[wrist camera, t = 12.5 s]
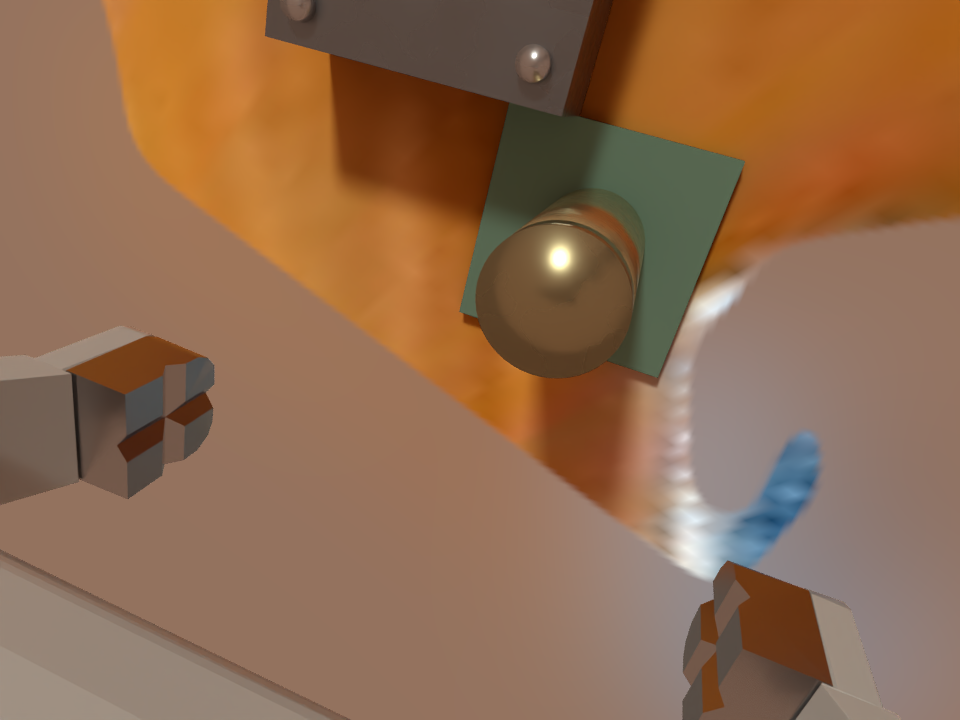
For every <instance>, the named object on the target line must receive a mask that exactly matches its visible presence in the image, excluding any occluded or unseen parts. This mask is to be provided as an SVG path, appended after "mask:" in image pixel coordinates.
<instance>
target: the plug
mask: <svg viewBox="0 0 960 720" xmlns="http://www.w3.org/2000/svg"><path fill="white" fill-rule="evenodd" d="M644 250H645V232H644V228H643V224H642V222H641V219H640V217H639V215H638V214H637V212H636V211H635V209H634V208H633V207H632V206H631V205H630V204H629V203H628V202H627V201H626V200H625V199H623V198H622V197H621V196H619V195H617V194H615V193H613V192H610V191H608V190H604V189H598V188H585V189H580V190H576V191H573V192H570V193H568V194H566V195H564V196H563V197H561V198H560V199H558V200H557V201H556V202H554V203H553V204H552V205H550V206H549V207H548V208H546V209H545V210H544V211H542V212H541V213H540V214H538V215H537V216H536V217H534V218H533V219H532V220H531V221H529V222H528V223H527V224H525V225H524V226H523V227H521V228H520V229H519V230H517V231H516V232H515V233H513V234H512V235H511V236H509V237H508V238H507V239H506V240H504V241H503V242H502V243H501V244H500V245H498V246H497V247H496V248H495V250H494V251H493V252H492V253H491V254H490V255H489V257H488V259H487V260H486V262H485V263H484V265H483V267H482V269H481V272H480V275H479V278H478V281H477V286H476V295H475V303H476V312H477V316H478V321H479V323H480V326H481V329H482V331H483V333H484V335H485V337H486V339H487V340H488V342H489V343H490V345H491V346H492V347H493V348H494V349H495V351H496V352H497V353H498V354H499V355H500V356H501V357H502V358H503V359H505V360H506V361H507V362H509V363H510V364H511V365H513V366H515V367H516V368H518V369H520V370H522V371H524V372H527V373H529V374H532V375H536V376H540V377H546V378H568V377H573V376H578V375H581V374H584V373H587V372H589V371H591V370H593V369H595V368H597V367H598V366H600V365H601V364H603V363H604V362H605V361H607V360H608V359H609V358H610V357H611V356H612V355H613V354H614V353H615V351H616V350H617V349H618V348H619V346H620V345H621V343H622V342H623V340H624V338H625V336H626V334H627V331H628V329H629V325H630V322H631V318H632V313H633V307H634V302H635V297H636V292H637V287H638V282H639V276H640V271H641V266H642V261H643V256H644Z"/></svg>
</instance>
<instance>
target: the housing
mask: <svg viewBox="0 0 960 720" xmlns="http://www.w3.org/2000/svg"><path fill="white" fill-rule="evenodd" d="M612 2H613V0H268V6H267V18H266V31H265V36H267V37H270V38H274V39H278V40H281V41H285V42H289V43H292V44H296V45H300V46H303V47H307V48H311V49H315V50H318V51H322V52H326V53H329V54H333V55H337V56H340V57H344V58H348V59H351V60H355V61H359V62H362V63H366V64H370V65H373V66H377V67H381V68H384V69H388V70H392V71H395V72H399V73H403V74H407V75H410V76H414V77H418V78H421V79H425V80H429V81H432V82H436V83H440V84H443V85H447V86H451V87H454V88H458V89H462V90H465V91H469V92H473V93H476V94H480V95H484V96H487V97H491V98H495V99H499V100H502V101H506V102H510V103H513V104H517V105H521V106H524V107H528V108H532V109H535V110H539V111H543V112H546V113H550V114H554V115H557V116H561V117H574V116H580V114H581V110H582V107H583V103H584V100H585V96H586V93H587V89H588V86H589V82H590V79H591V75H592V72H593V68H594V65H595V61H596V58H597V54H598V51H599V47H600V44H601V40H602V37H603V34H604V30H605V27H606V23H607V20H608V16H609V13H610V9H611V6H612Z"/></svg>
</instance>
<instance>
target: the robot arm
mask: <svg viewBox="0 0 960 720" xmlns="http://www.w3.org/2000/svg"><path fill="white" fill-rule="evenodd" d="M213 385H214V365H213V363H212V362H211V361H210V360H209V359H208V358H207V357H204V356H202V355H200V354H197V353H195V352H192V351H190V350H188V349H185V348H183V347H181V346H178V345H176V344H173V343H171V342H169V341H166V340H164V339H161V338H159V337H155V336H153V335H152V334H149V333H146V332H143V331H141V330H138V329H136V328H133V327H128V326H118V327H116V328H113V329H110V330H108V331H105V332H102V333H100V334H97V335H94V336H92V337H89V338H87V339H84V340H81V341H79V342H76V343H74V344H71V345H69V346H66V347H63V348H60V349H58V350H55V351H52V352H50V353H47V354H45V355H42V356H39V357H37V358H32V357H29V356H27V355H20V356H4V357H0V505H2V504H5V503H8V502H12V501H15V500H19V499H22V498H26V497H29V496H32V495H36V494H39V493H43V492H46V491H50V490H53V489H56V488H60V487H63V486H67V485H70V484H74V483H77V482H79V479H80V480H82V481H85V482H87V483H90V484H92V485H95V486H97V487H99V488H102V489H104V490H107V491H109V492H112V493H114V494H116V495H119V496H121V497H124V498H126V499H129V498H130V497H132V496H133V495H134V494H136V493H137V492H139V491H140V490H142V489H143V488H145V487H146V486H147V485H149V484H150V483H152V482H153V481H155V480H156V479H157V478H159V477H160V476H162V473H163V469H164V464H167V463H172V462H177V461H181V460H184V459H186V458H187V457H188V456H190V455H191V454H193V453H194V452H195V451H197V449H198V448H199V447H200V445H201V444H202V442H203V441H204V440H205V438H206V437H207V435H208V433H209V429H210V427H211V424H212V416H213V407H212V405H211V403H210V401H209V399H208V397H207V395H206V391H208V390H209V389H210V388H211V387H212V386H213ZM713 588H714V589H713V590H714V600H711V601H708V602H706V603H704V604H701V605H700V607H699V609H698V611H697V613H696V615H695V617H694V619H693V621H692V623H691V626H690V629H689V633H688V636H687V639H686V643H685V650H684V656H683V673H684V675H685V677H686V678H687V680H688V682H689V683H690V685H691V687H690V689H689V691H688V692H687V694H686V696H685V698H684V699H683V720H902V719H901V718H900V717H899V716H898V715H897V714H896V713H893V712H891V711H889V710H887V709H884V708H883V706H882V703H881V700H880V697H879V694H878V691H877V688H876V685H875V682H874V679H873V676H872V673H871V669H870V667H869V664H868V660H867V657H866V655H865V651H864V648H863V645H862V642H861V639H860V636H859V633H858V630H857V627H856V624H855V621H854V618H853V615H852V612H851V609H850V608H849V607H848V606H847V605H846V604H845V603H844V602H842V601H839V600H836V599H833V598H831V597H828V596H825V595H822V594H819V593H817V592H814V591H811V590H808V589H803V588H800V587H798V586H795V585H792V584H790V583H787V582H784V581H781V580H779V579H776V578H773V577H771V576H768V575H765V574H763V573H760V572H757V571H755V570H752V569H749V568H747V567H744V566H741V565H739V564H736V563H733V562H731V561H727V562H726V563H725V564H724V565H723V566H722V567H721V568H720V570H719V572H718V574H717V576H716V577H715V579H714V581H713ZM0 720H350V719H348V718H346V717H344V716H342V715H340V714H338V713H336V712H334V711H331V710H330V709H327V708H326V707H323V706H321V705H319V704H317V703H315V702H313V701H311V700H309V699H307V698H305V697H303V696H300V695H299V694H297V693H295V692H293V691H291V690H288V689H286V688H284V687H282V686H280V685H278V684H276V683H274V682H272V681H270V680H268V679H266V678H264V677H262V676H260V675H257V674H256V673H253V672H251V671H249V670H247V669H245V668H243V667H241V666H239V665H237V664H235V663H233V662H231V661H229V660H227V659H225V658H223V657H221V656H218V655H216V654H214V653H212V652H210V651H208V650H206V649H204V648H202V647H200V646H198V645H195V644H194V643H192V642H190V641H187V640H186V639H184V638H181V637H179V636H177V635H175V634H173V633H171V632H169V631H167V630H165V629H163V628H161V627H159V626H157V625H155V624H153V623H150V622H148V621H146V620H144V619H142V618H140V617H138V616H136V615H134V614H132V613H130V612H128V611H126V610H124V609H122V608H120V607H118V606H116V605H114V604H111V603H109V602H107V601H105V600H103V599H101V598H99V597H97V596H95V595H93V594H91V593H89V592H87V591H84V590H83V589H81V588H79V587H76V586H74V585H72V584H70V583H68V582H66V581H64V580H62V579H60V578H58V577H56V576H54V575H52V574H50V573H47V572H46V571H44V570H41V569H39V568H37V567H35V566H33V565H31V564H29V563H27V562H25V561H23V560H21V559H19V558H17V557H15V556H13V555H10V554H9V553H6V552H4V551H2V550H0Z"/></svg>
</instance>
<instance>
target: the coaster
mask: <svg viewBox="0 0 960 720" xmlns="http://www.w3.org/2000/svg"><path fill="white" fill-rule="evenodd" d="M744 163H745V161H743V160H739V159H735V158H732V157H728V156H724V155H720V154H717V153H713V152H709V151H706V150H702V149H698V148H695V147H691V146H687V145H684V144H680V143H676V142H672V141H669V140H665V139H661V138H658V137H654V136H650V135H647V134H643V133H639V132H635V131H632V130H628V129H624V128H621V127H617V126H613V125H610V124H606V123H602V122H598V121H595V120H591V119H587V118H584V117H580V116H574V117H561V116H557V115H554V114H550V113H546V112H543V111H539V110H535V109H532V108H528V107H524V106H521V105H517V104H513V103H510V102H509V107H508V111H507V115H506V119H505V123H504V127H503V132H502V136H501V140H500V144H499V148H498V153H497V157H496V161H495V165H494V169H493V173H492V178H491V182H490V186H489V190H488V194H487V198H486V203H485V207H484V211H483V215H482V219H481V224H480V228H479V232H478V236H477V240H476V244H475V249H474V253H473V257H472V261H471V265H470V269H469V274H468V278H467V282H466V286H465V290H464V295H463V299H462V303H461V307H460V311H459V312H461V313H464V314H467V315H470V316H473V317H476V318H478V316H477V312H476V303H475V295H476V286H477V281H478V278H479V275H480V272H481V269H482V267H483V265H484V263H485V262H486V260H487V259H488V257H489V255H490V254H491V253H492V252H493V251H494V250H495V248H496V247H497V246H498V245H500V244H501V243H502V242H503V241H504V240H506V239H507V238H508V237H509V236H511V235H512V234H513V233H515V232H516V231H517V230H519V229H520V228H521V227H523V226H524V225H525V224H527V223H528V222H529V221H531V220H532V219H533V218H534V217H536V216H537V215H538V214H540V213H541V212H542V211H544V210H545V209H546V208H548V207H549V206H550V205H552V204H553V203H554V202H556V201H557V200H558V199H560V198H561V197H563V196H564V195H566V194H568V193H570V192H573V191H576V190H580V189H585V188H598V189H604V190H608V191H610V192H613V193H615V194H617V195H619V196H621V197H622V198H623V199H625V200H626V201H627V202H628V203H629V204H630V205H631V206H632V207H633V208H634V209H635V211H636V212H637V214H638V215H639V217H640V219H641V222H642V224H643V228H644V232H645V250H644V256H643V261H642V266H641V271H640V276H639V282H638V287H637V292H636V297H635V302H634V307H633V313H632V318H631V322H630V325H629V329H628V331H627V334H626V336H625V338H624V340H623V342H622V343H621V345H620V346H619V348H618V349H617V350H616V351H615V353H614V354H613V355H612V356H611V357H610V358H609V359H608V360H607V361H609V362H612V363H615V364H618V365H621V366H624V367H627V368H630V369H633V370H636V371H639V372H642V373H645V374H648V375H651V376H654V377H657V378H658V376H659V373H660V371H661V368H662V366H663V363H664V361H665V358H666V356H667V353H668V351H669V349H670V346H671V344H672V341H673V339H674V336H675V334H676V331H677V329H678V326H679V324H680V321H681V319H682V316H683V314H684V311H685V309H686V306H687V304H688V302H689V299H690V297H691V294H692V292H693V289H694V287H695V284H696V282H697V279H698V277H699V274H700V272H701V269H702V267H703V264H704V262H705V260H706V257H707V255H708V252H709V250H710V247H711V245H712V242H713V240H714V237H715V235H716V232H717V230H718V227H719V225H720V222H721V220H722V217H723V215H724V213H725V210H726V208H727V205H728V203H729V200H730V198H731V195H732V193H733V190H734V188H735V185H736V183H737V180H738V178H739V175H740V173H741V171H742V168H743V166H744Z"/></svg>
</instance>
